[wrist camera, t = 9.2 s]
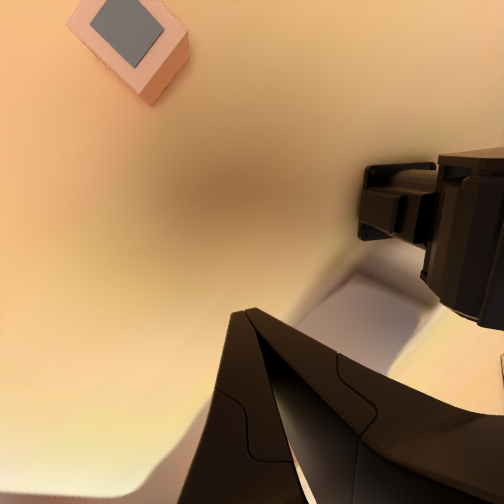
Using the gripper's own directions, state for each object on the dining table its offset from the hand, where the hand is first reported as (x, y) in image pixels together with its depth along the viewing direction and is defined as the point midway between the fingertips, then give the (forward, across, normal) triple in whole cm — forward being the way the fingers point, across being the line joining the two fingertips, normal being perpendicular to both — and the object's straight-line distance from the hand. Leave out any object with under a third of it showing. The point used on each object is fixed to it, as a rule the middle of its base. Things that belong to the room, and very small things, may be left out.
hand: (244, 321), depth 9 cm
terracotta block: (+14, +2, -11) cm, 18 cm away
